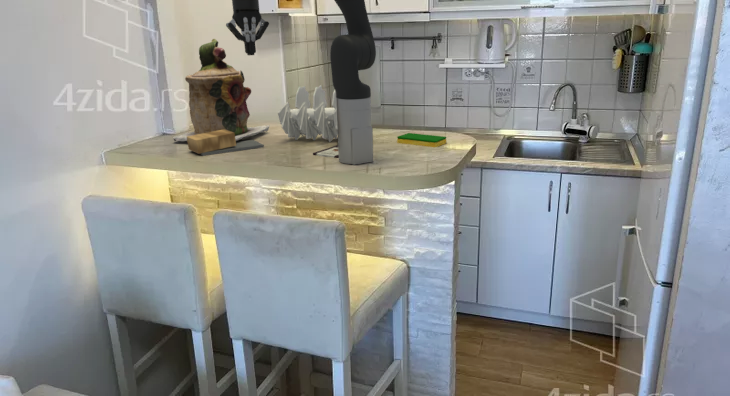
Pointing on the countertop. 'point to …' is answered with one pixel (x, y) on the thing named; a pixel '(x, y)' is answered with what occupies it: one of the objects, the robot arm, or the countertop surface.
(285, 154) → the countertop surface
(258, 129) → the cookie jar
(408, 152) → the countertop surface
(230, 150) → the rubber mat
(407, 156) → the countertop surface
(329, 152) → the chocolate bar
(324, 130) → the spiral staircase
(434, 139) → the dish sponge
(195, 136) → the tall wooden block
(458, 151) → the countertop surface
